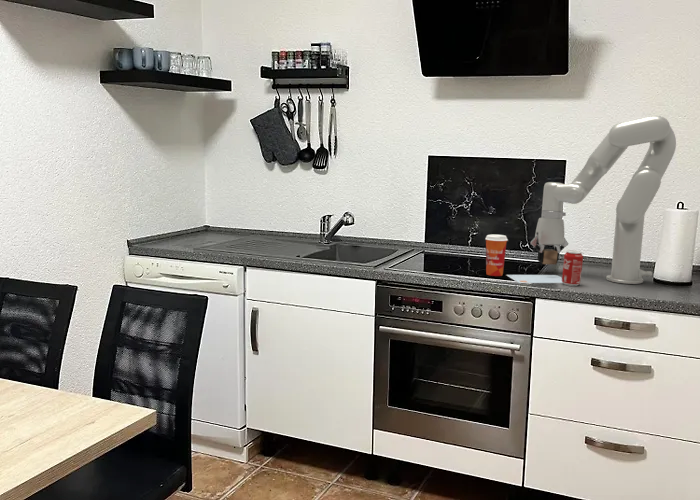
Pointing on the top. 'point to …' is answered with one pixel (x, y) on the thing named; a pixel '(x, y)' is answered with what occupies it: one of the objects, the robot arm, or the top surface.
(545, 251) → the walnut block
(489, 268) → the coffee cup
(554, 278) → the envelope
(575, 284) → the beverage can
